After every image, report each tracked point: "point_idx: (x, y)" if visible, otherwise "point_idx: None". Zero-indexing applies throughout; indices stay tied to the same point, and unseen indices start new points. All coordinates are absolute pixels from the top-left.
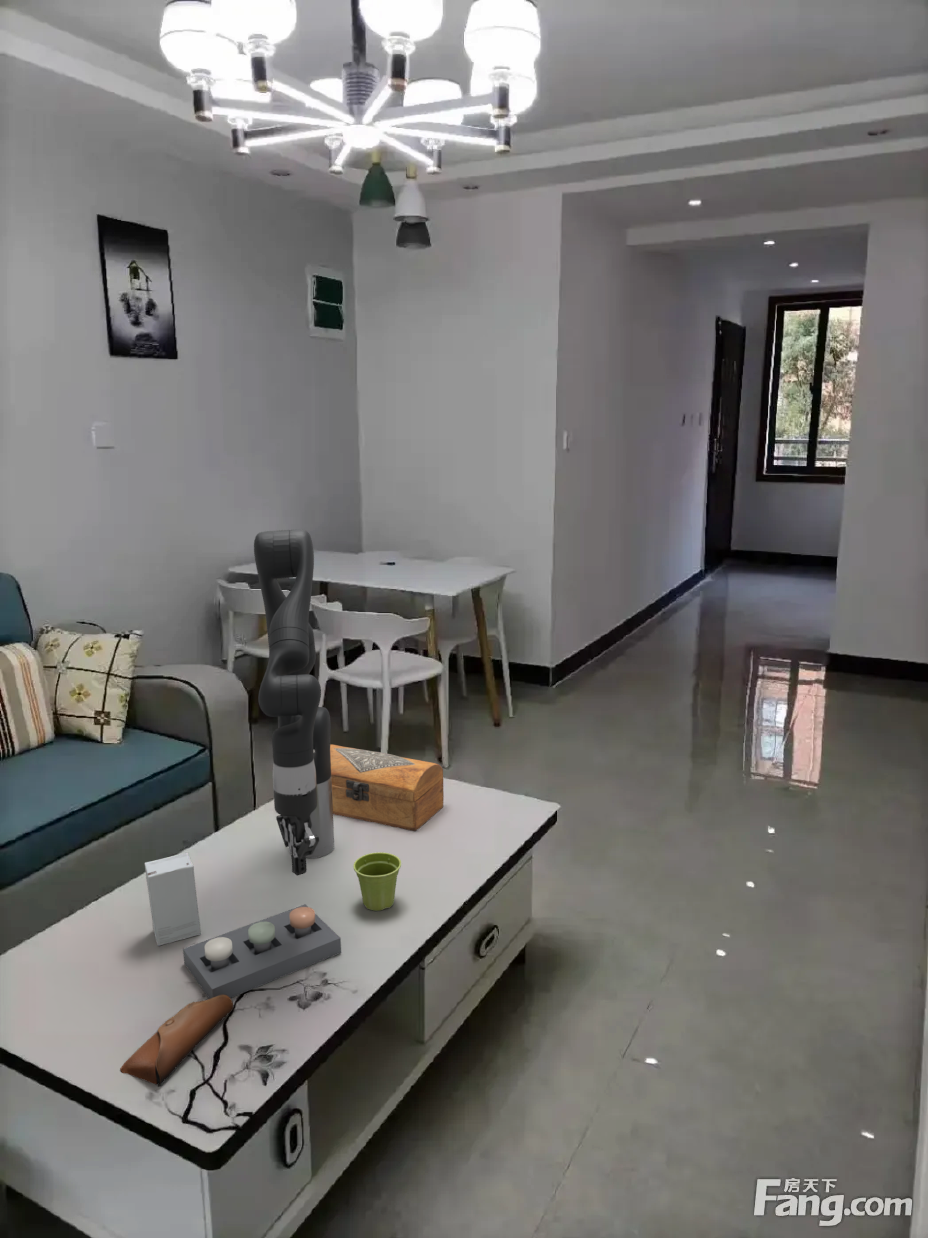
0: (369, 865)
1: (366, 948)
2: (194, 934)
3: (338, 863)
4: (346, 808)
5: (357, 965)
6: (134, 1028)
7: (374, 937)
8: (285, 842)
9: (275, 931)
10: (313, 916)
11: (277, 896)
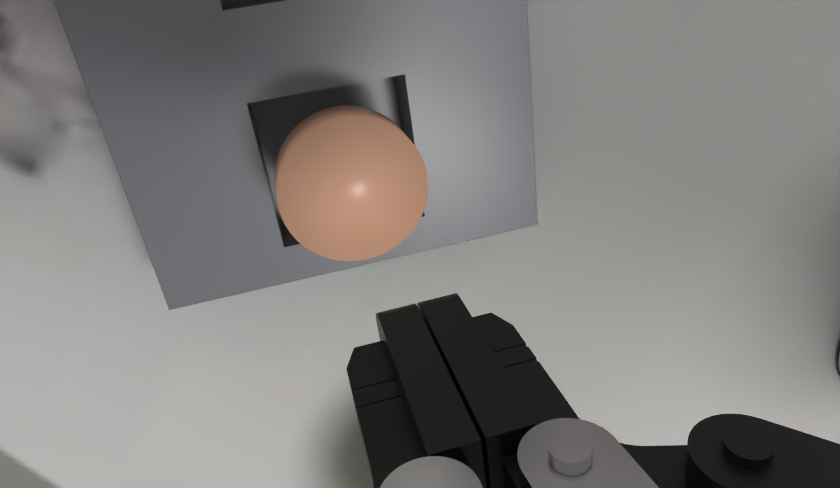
0: None
1: (170, 368)
2: None
3: (766, 384)
4: None
5: (49, 311)
6: None
7: (238, 408)
8: (770, 471)
9: (376, 15)
10: (302, 244)
11: (727, 126)
